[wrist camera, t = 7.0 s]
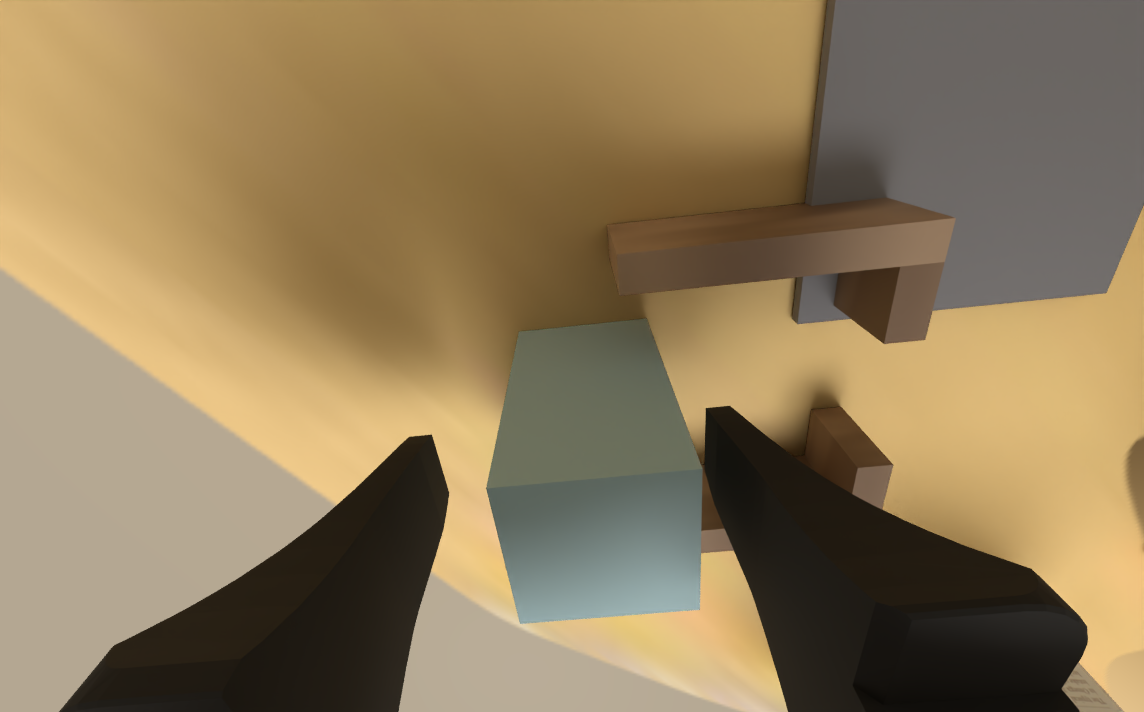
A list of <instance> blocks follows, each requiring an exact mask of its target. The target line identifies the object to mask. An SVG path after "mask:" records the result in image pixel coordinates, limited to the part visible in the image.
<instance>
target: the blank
mask: <svg viewBox="0 0 1144 712" xmlns="http://www.w3.org/2000/svg"><path fill="white" fill-rule="evenodd" d="M486 489H487V493H488V497H489V501H490V505H491V509H492V513H493V517H494V521H495V525H496V529H497V533H498V537H499V541H500V545H501V549H502V553H503V557H504V561H505V565H506V569H507V573H508V577H509V581H510V585H511V589H512V593H513V597H514V601H515V605H516V609H517V613H518V617H519V621H520V624H524V623H536V622H549V621H562V620H574V619H587V618H600V617H613V616H625V615H638V614H651V613H663V612H676V611H689V610H700V572H701V521H702V466H701V464H700V461H699V458H698V455H697V453H696V450H695V447H694V445H693V442H692V439H691V437H690V434H689V431H688V429H687V426H686V423H685V420H684V418H683V415H682V412H681V410H680V407H679V404H678V402H677V399H676V396H675V394H674V391H673V388H672V385H671V383H670V380H669V377H668V375H667V372H666V369H665V367H664V364H663V361H662V359H661V356H660V353H659V351H658V348H657V345H656V342H655V340H654V337H653V334H652V332H651V329H650V326H649V324H648V321H647V318H646V319H637V320H627V321H617V322H608V323H598V324H588V325H579V326H569V327H559V328H550V329H540V330H530V331H521V332H519V334H518V339H517V343H516V348H515V353H514V358H513V363H512V367H511V372H510V377H509V382H508V387H507V391H506V396H505V401H504V406H503V411H502V415H501V420H500V425H499V430H498V435H497V439H496V444H495V449H494V454H493V459H492V463H491V468H490V473H489V478H488V483H487V487H486Z"/></svg>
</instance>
